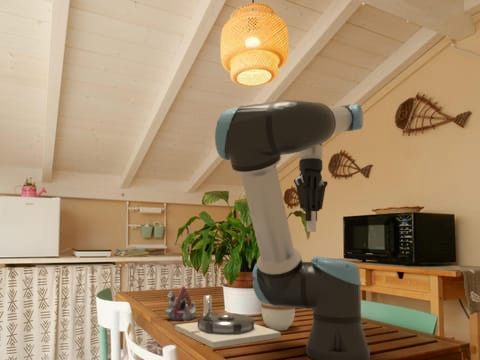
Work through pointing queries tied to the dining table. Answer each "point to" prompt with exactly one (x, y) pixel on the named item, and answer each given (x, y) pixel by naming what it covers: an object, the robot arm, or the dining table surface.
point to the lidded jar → (277, 316)
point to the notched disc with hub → (223, 320)
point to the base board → (227, 335)
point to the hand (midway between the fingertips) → (311, 231)
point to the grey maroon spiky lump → (180, 306)
